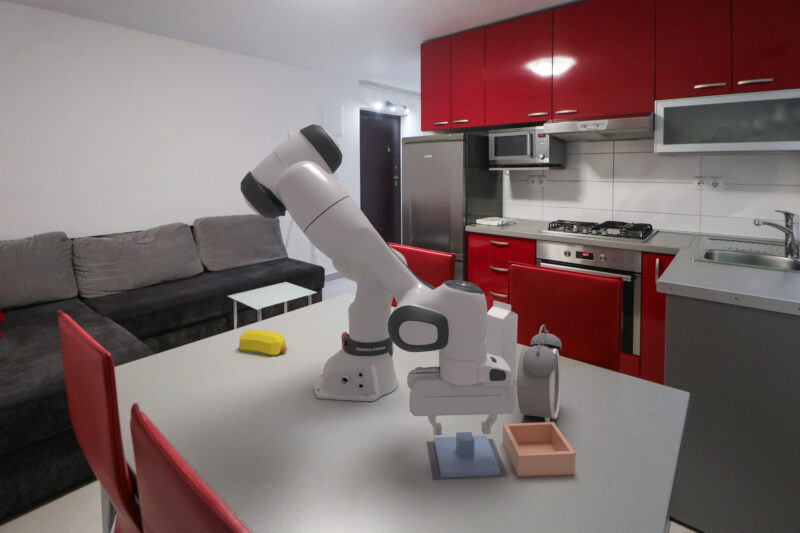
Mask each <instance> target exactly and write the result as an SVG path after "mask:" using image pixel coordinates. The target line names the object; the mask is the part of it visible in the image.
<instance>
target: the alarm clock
mask: <svg viewBox="0 0 800 533" xmlns="http://www.w3.org/2000/svg"><path fill="white" fill-rule="evenodd" d="M542 331H544V332H542ZM562 347H563V344H562V341H561V339H560V338H559V337H558V336H556V335H555V334H552V333H549V331H548V330H547V328H546V325H545V324H542V325H541V326H540V328H539V331H538V333H537V334H535V335H534V336H533V337H532V338H531V340H530V346H523V347H522V348H521V351H520V354H519V357H518V364H517V373H516V375H517V376H516V399H517V404H518V409H519V413H520V414H521V415H523V416H529V417H539V418H544V422H551V419H553V420H556V419H557V418H558V415H559V413H560V405H561V394H562V392H561V391H562V390H561V388H562V387H561V386H562V384H561V383H562V381H561V380H562V375H561V374H562V373H561V372H562V371H561V360H560V353H559V351H561V350H562V349H563V348H562Z"/></svg>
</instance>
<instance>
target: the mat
mask: <svg viewBox="0 0 800 533" xmlns="http://www.w3.org/2000/svg"><path fill="white" fill-rule="evenodd" d="M487 439H488V441H489V444H490V446H491V449H492V451H493V454H494V456H495V459H496V461H497V463H498V466H499V468H500V475H490V476H468V477H446V478H441V475H440V470H439V465H438V460H437V455H436V450H435V445H434V440H433V441H432V440H431V441H426V446H427V452H428V456H429V463H430V464H429V465H430V470H431V475H432V480H433V481H442V480H443V481H444V480H462V479H463V480H467V479H486V478H487V479H488V478H508V477H509V474H508V472H507V470H506V467H505V465H504V462H503V461H502V460H503V459H502V458H501V455H500V453H499V451H498V448H497V446H496V444H495V442H494V439H493V438H487Z"/></svg>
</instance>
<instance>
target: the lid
mask: <svg viewBox="0 0 800 533" xmlns="http://www.w3.org/2000/svg"><path fill="white" fill-rule="evenodd" d="M455 434H456V436H440V437H439V436H438V437H436V436H435V437H433V441H434V445H435V450H436V455H437V460H438V465H439V470H440V475H441V478H446V477H468V476H490V475H500V468H499V466H498V463H497V461H496V459H495V456H494V454H493V451H492V449H491V446H490V444H489V441H488V439H489V438H488V437H487V434H483V435H473V434H472V431H460V432H459V431H458V432H456V433H455Z"/></svg>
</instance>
